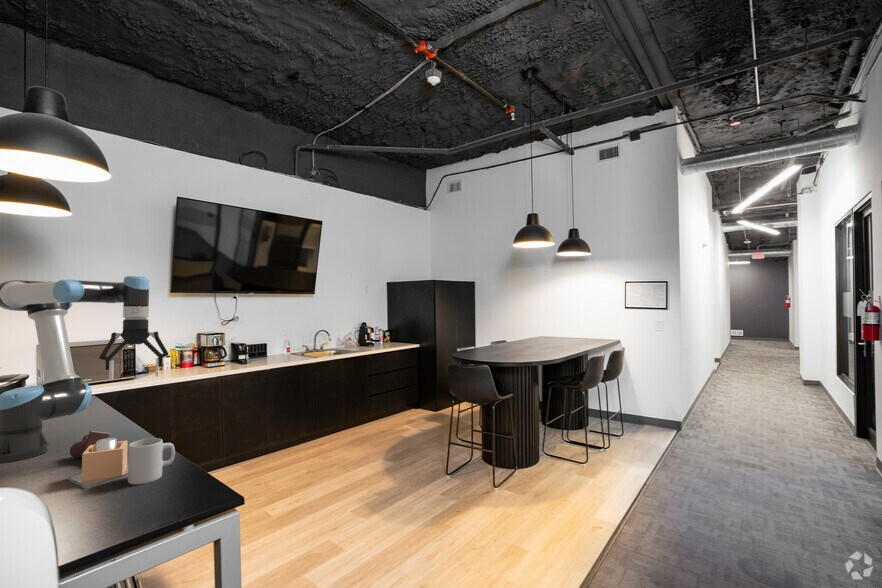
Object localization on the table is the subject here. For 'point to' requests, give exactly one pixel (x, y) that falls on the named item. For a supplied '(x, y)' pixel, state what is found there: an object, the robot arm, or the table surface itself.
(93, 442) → the bracket
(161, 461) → the mug
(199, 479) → the table surface
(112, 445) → the duct flange
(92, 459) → the tan wooden box
